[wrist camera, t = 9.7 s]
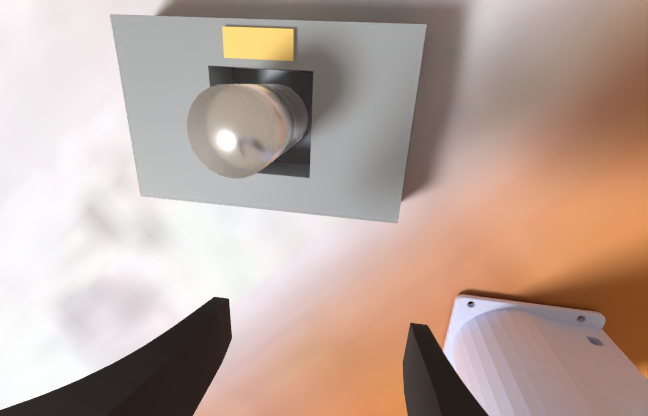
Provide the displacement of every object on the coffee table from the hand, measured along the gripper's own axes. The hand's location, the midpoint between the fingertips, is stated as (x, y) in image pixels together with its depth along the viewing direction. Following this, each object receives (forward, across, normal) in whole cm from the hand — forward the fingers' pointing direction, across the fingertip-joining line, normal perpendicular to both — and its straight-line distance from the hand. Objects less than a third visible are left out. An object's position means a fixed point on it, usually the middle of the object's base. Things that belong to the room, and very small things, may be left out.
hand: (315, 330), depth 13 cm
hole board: (+10, +4, -7) cm, 13 cm away
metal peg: (+11, +4, -7) cm, 13 cm away
